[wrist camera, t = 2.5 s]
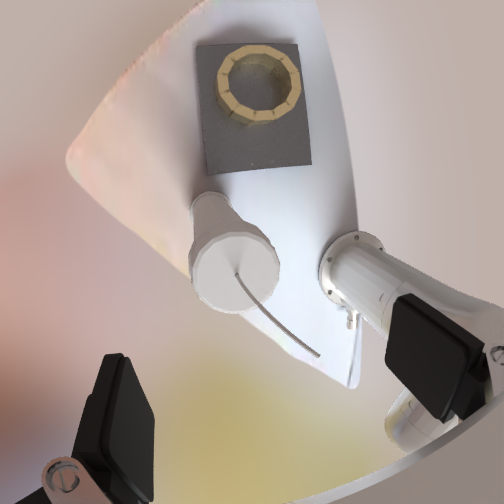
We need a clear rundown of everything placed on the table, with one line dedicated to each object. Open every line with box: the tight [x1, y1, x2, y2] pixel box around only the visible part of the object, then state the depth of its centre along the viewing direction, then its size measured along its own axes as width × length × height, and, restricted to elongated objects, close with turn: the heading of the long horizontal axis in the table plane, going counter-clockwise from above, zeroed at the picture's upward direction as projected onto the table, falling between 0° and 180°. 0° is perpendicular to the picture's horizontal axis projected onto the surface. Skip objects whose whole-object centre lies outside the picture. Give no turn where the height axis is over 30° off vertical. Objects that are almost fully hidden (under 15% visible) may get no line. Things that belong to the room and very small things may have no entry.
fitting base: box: [196, 43, 312, 175], centre depth 34 cm, size 18×14×6 cm
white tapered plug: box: [188, 191, 320, 358], centre depth 26 cm, size 6×6×30 cm
